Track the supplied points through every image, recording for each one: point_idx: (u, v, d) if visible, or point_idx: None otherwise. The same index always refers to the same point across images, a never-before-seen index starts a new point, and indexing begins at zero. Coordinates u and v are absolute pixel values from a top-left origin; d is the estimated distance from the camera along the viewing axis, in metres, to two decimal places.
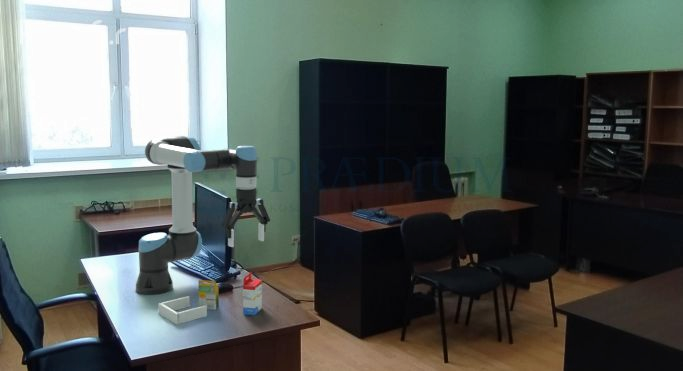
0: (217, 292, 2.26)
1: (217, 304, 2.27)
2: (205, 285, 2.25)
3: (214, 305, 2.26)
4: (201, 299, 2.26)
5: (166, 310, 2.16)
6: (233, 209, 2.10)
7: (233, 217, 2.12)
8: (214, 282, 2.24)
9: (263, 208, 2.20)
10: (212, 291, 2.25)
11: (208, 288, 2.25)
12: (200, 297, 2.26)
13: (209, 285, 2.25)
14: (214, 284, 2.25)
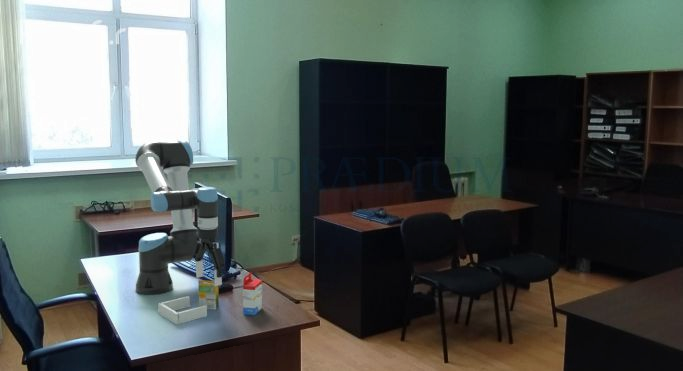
0: (217, 292, 2.26)
1: (217, 304, 2.27)
2: (205, 285, 2.25)
3: (214, 305, 2.26)
4: (201, 299, 2.26)
5: (166, 310, 2.16)
6: (196, 243, 2.28)
7: None
8: (214, 282, 2.24)
9: (215, 253, 2.18)
10: (212, 291, 2.25)
11: (208, 288, 2.25)
12: (200, 297, 2.26)
13: (209, 285, 2.25)
14: (214, 284, 2.25)
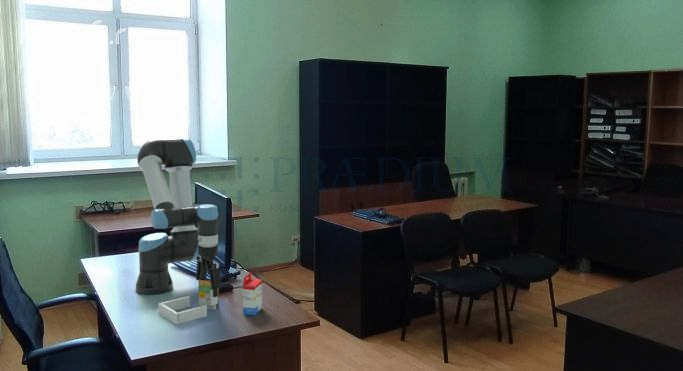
0: None
1: (217, 304, 2.27)
2: (205, 285, 2.25)
3: (214, 305, 2.26)
4: (201, 299, 2.26)
5: (166, 310, 2.16)
6: (197, 262, 2.28)
7: None
8: None
9: (213, 272, 2.20)
10: None
11: (208, 288, 2.25)
12: (200, 297, 2.26)
13: (209, 285, 2.25)
14: None
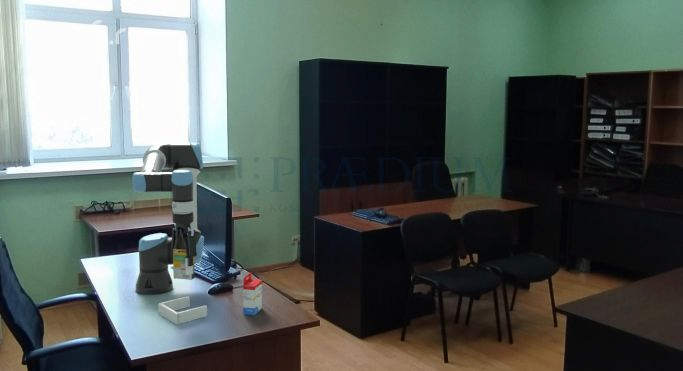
0: (193, 262, 2.17)
1: (193, 274, 2.18)
2: (180, 254, 2.16)
3: (189, 275, 2.16)
4: (176, 269, 2.17)
5: (166, 310, 2.16)
6: (172, 231, 2.19)
7: None
8: None
9: (188, 240, 2.11)
10: None
11: (183, 257, 2.16)
12: (175, 267, 2.17)
13: (184, 254, 2.15)
14: None
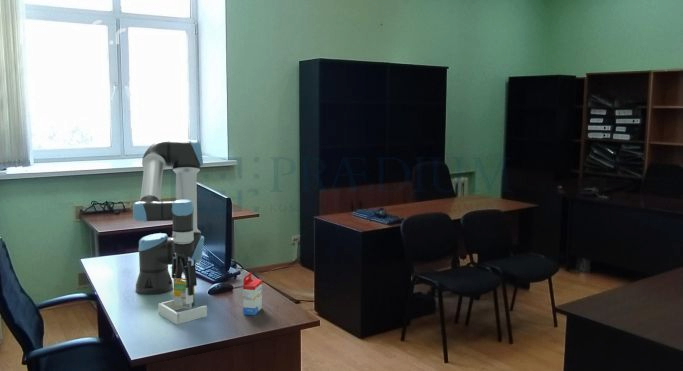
0: (193, 290, 2.19)
1: (193, 303, 2.19)
2: (180, 283, 2.17)
3: (190, 304, 2.18)
4: (176, 297, 2.18)
5: (166, 310, 2.16)
6: (173, 260, 2.21)
7: None
8: None
9: (188, 270, 2.13)
10: None
11: (183, 286, 2.17)
12: (175, 296, 2.18)
13: (184, 283, 2.17)
14: None
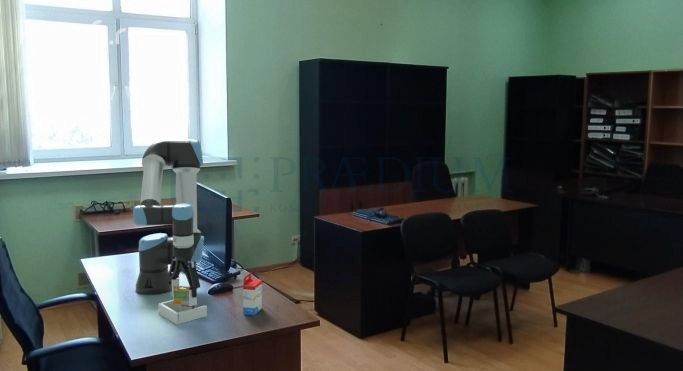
0: None
1: None
2: (180, 291, 2.18)
3: None
4: (176, 305, 2.19)
5: (166, 310, 2.16)
6: (172, 261, 2.21)
7: None
8: None
9: (190, 272, 2.12)
10: (187, 297, 2.18)
11: (183, 294, 2.18)
12: (175, 303, 2.19)
13: (184, 291, 2.18)
14: None
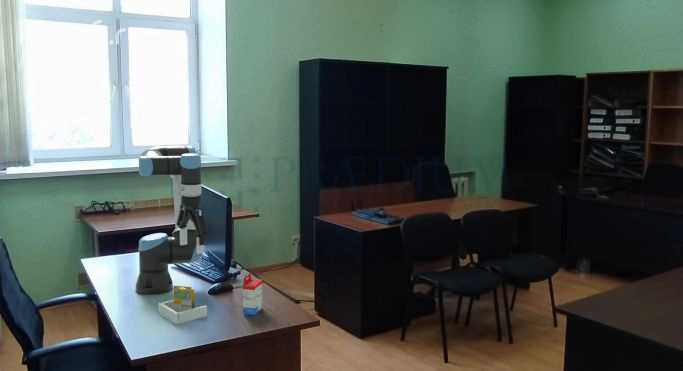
0: (193, 298, 2.19)
1: None
2: (180, 291, 2.18)
3: None
4: (176, 305, 2.19)
5: (166, 310, 2.16)
6: (180, 210, 2.24)
7: None
8: (190, 288, 2.17)
9: (197, 220, 2.15)
10: (187, 297, 2.18)
11: (183, 294, 2.18)
12: (175, 303, 2.19)
13: (184, 291, 2.18)
14: (190, 290, 2.17)
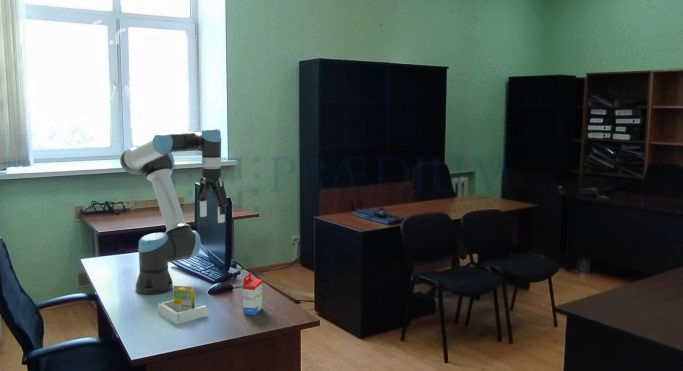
0: (193, 298, 2.19)
1: None
2: (180, 291, 2.18)
3: None
4: (176, 305, 2.19)
5: (166, 310, 2.16)
6: (200, 183, 2.37)
7: None
8: (190, 288, 2.17)
9: (218, 191, 2.27)
10: (187, 297, 2.18)
11: (183, 294, 2.18)
12: (175, 303, 2.19)
13: (184, 291, 2.18)
14: (190, 290, 2.17)
